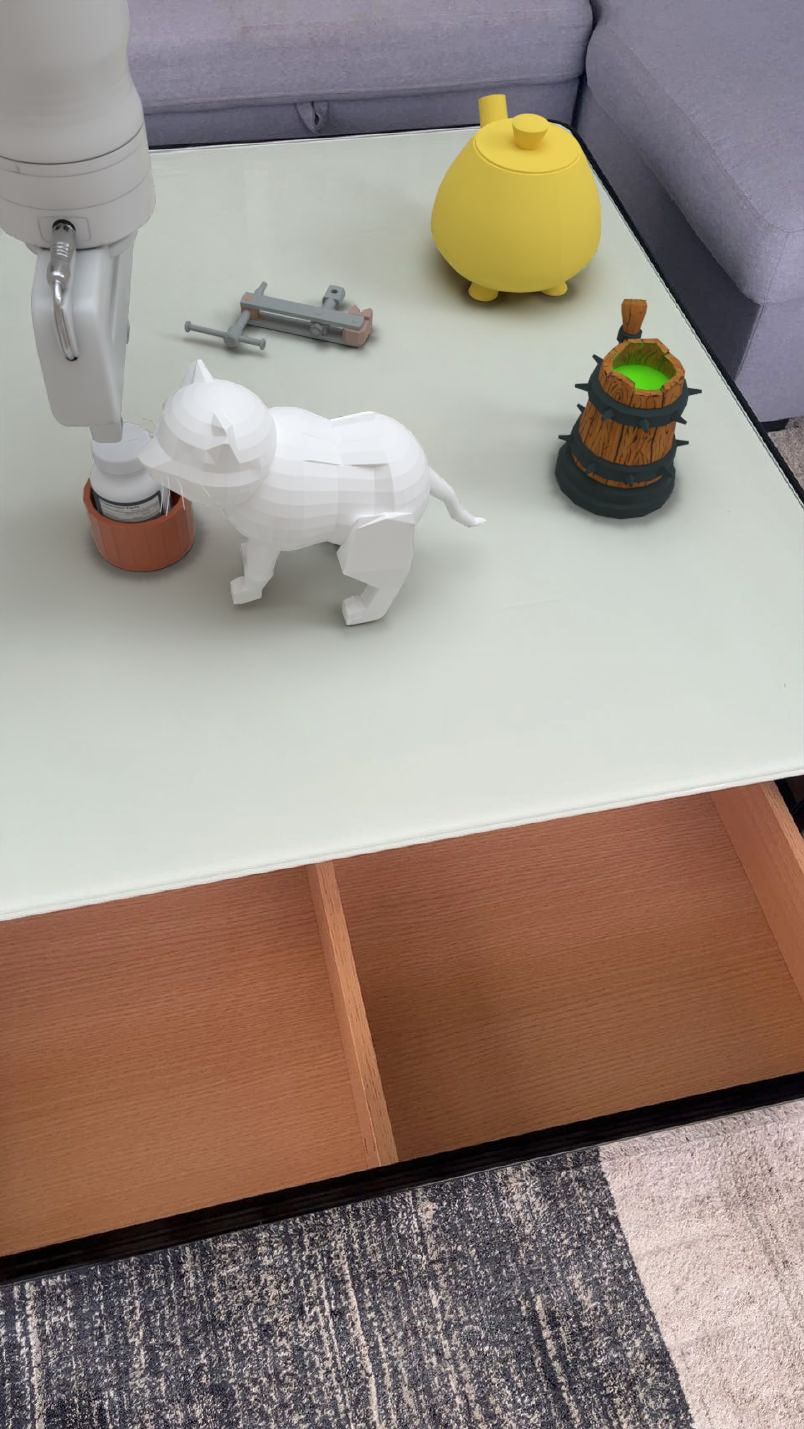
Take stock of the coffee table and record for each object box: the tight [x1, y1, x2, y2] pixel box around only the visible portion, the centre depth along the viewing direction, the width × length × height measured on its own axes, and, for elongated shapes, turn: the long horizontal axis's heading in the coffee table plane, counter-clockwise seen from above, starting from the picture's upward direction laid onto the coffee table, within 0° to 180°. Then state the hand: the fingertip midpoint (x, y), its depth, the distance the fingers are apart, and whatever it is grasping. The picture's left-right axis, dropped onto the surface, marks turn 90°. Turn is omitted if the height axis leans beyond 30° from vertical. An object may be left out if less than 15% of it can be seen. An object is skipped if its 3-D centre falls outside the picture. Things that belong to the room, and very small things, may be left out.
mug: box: [554, 298, 703, 520], centre depth 82 cm, size 13×10×12 cm
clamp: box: [184, 281, 374, 351], centre depth 93 cm, size 15×2×10 cm
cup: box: [82, 476, 196, 572], centre depth 78 cm, size 7×7×4 cm
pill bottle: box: [89, 421, 173, 524], centre depth 75 cm, size 5×5×9 cm
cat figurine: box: [123, 358, 487, 626], centre depth 71 cm, size 25×10×17 cm, turn 106°
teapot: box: [430, 93, 602, 302], centre depth 97 cm, size 20×16×14 cm
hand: (113, 385), depth 68 cm, fingers open, 8 cm apart
